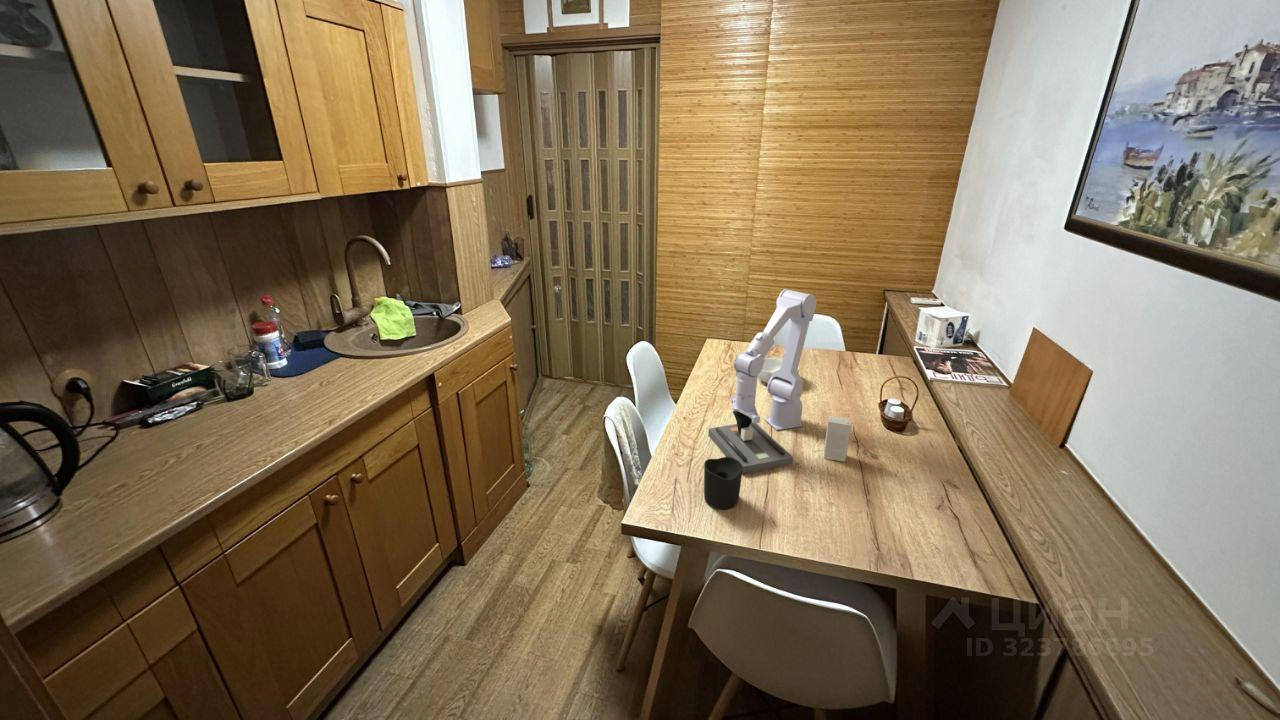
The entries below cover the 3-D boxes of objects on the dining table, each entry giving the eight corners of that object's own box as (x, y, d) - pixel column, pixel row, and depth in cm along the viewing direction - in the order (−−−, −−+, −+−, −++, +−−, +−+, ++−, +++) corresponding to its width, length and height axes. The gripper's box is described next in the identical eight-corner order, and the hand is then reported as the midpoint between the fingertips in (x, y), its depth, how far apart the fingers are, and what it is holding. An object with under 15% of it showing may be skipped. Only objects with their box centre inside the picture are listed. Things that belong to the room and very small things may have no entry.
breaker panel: (753, 427, 159) (754, 417, 158) (792, 464, 140) (793, 453, 138) (708, 435, 155) (708, 425, 154) (741, 474, 135) (742, 463, 134)
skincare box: (844, 454, 145) (851, 418, 140) (845, 462, 141) (851, 425, 136) (823, 451, 146) (828, 415, 142) (822, 458, 143) (828, 422, 138)
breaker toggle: (748, 436, 149) (749, 426, 148) (752, 439, 147) (753, 430, 146) (740, 437, 148) (741, 428, 147) (743, 440, 146) (744, 431, 145)
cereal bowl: (802, 378, 195) (804, 362, 193) (790, 394, 182) (792, 377, 180) (761, 370, 204) (762, 354, 201) (746, 384, 191) (747, 367, 188)
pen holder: (732, 515, 120) (735, 481, 116) (696, 503, 124) (698, 470, 120) (744, 494, 127) (747, 461, 124) (710, 484, 132) (712, 452, 128)
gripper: (722, 384, 150) (720, 423, 155) (745, 405, 137) (742, 447, 142) (743, 381, 152) (740, 420, 157) (767, 401, 139) (763, 443, 144)
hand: (742, 433), depth 150 cm, fingers closed
